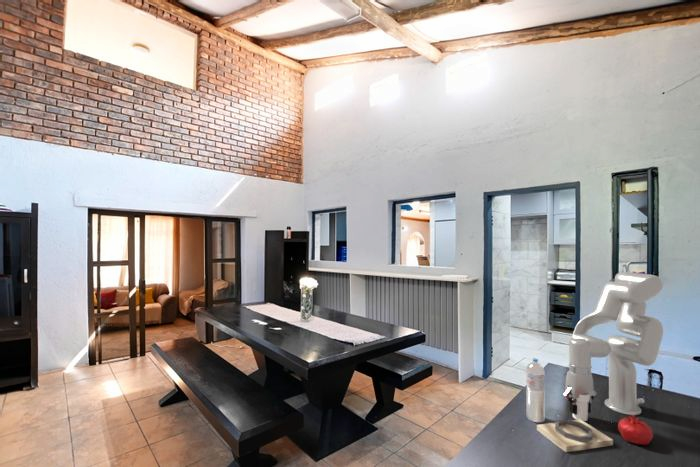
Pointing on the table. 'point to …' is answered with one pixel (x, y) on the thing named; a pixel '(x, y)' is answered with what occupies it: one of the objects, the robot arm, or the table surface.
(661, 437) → the table surface
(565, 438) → the seat board
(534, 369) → the water bottle
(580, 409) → the cup
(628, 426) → the pomegranate
